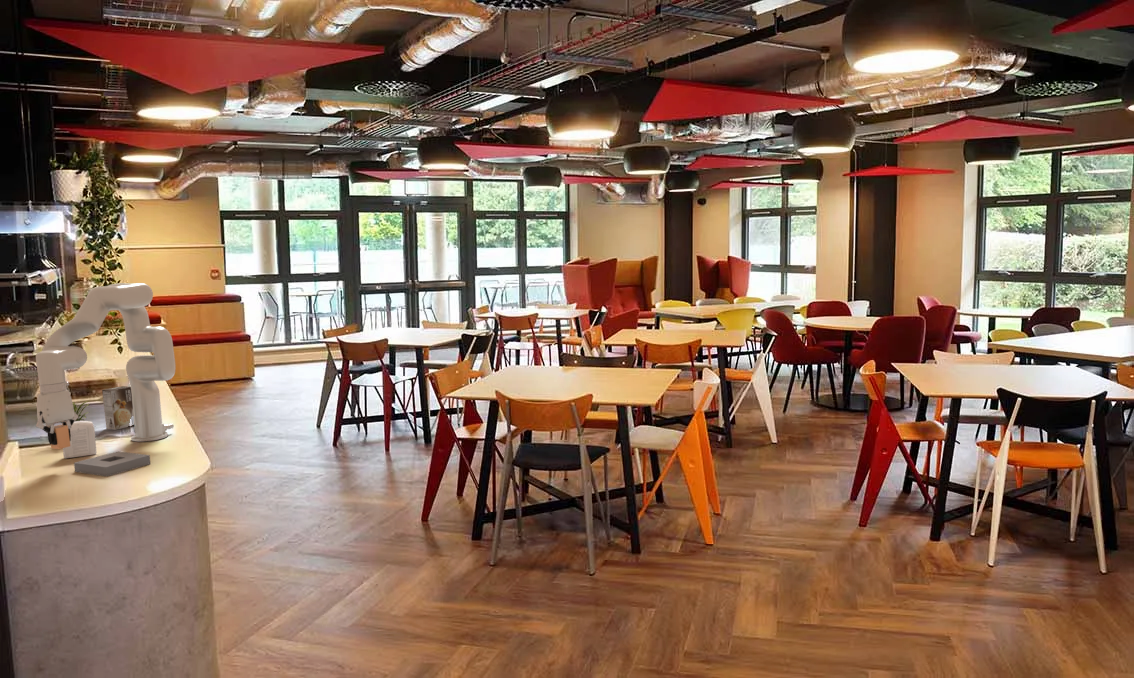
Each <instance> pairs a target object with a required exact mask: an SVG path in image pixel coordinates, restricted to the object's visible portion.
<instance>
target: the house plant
mask: <svg viewBox="0 0 1134 678" xmlns="http://www.w3.org/2000/svg"><path fill="white" fill-rule="evenodd" d="M87 402H89V400H86V401H84V402H82V403H80V405H78V403H75V401H72V403H73V408H74V412H75V413H76V414H77V415H78V418H77V419H76V420H75V421H85V419H87V416H86V414H88V413H90V411H89V412H85V413H83V414H81V413H82V412H83V411H84V410H85V408H87V406H90V404H88V403H87ZM83 418H85V419H83ZM75 421H74V422H75Z"/></svg>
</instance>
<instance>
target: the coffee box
mask: <svg viewBox="0 0 1134 678" xmlns="http://www.w3.org/2000/svg"><path fill="white" fill-rule="evenodd" d="M101 391H102V394H101V395H102V401H103V409H104V419H105V427H106V430H107V429H108V430H114V431H117V430H121V429H126V428H129V427H128V426H129V423H130V419H131V417H132V416H134V414H133V404H132V393H131V386H124V385H122V386H116V387H109V388H105V389H101Z"/></svg>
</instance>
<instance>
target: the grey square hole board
mask: <svg viewBox="0 0 1134 678" xmlns="http://www.w3.org/2000/svg"><path fill="white" fill-rule="evenodd" d="M149 465H151V456H150V454H145V453H143V454H141V453H136V452H135V453H134V452H128V451H127V452H126V451H118V450H117V451H114V452H110V453H107V454H102V455H98V456H95V457H91V458H88V459H83V460H79V461H75V462H74V463H73V467H74V472H75V473H82V474H88V475H95V476H101V477H102V476H103V477H110V476H113V475H117V474H120V473H124V472H127V471H130V470H131V471H132V470H134V469H138V468H141V467H145V466H149Z"/></svg>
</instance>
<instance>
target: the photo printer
mask: <svg viewBox="0 0 1134 678" xmlns="http://www.w3.org/2000/svg"><path fill="white" fill-rule="evenodd" d="M70 433H71V441H70V446H69V447H66V448H62V452H63V458H64V459H69V458H70V459H71V458H79V457H87V456H94V455H97V453H98V452H97V444H96V430H95V426H94V423H93V421H90V420H89V421H88V420H80V421H75V422H74V423H73V424H72V426H71V429H70Z"/></svg>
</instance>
